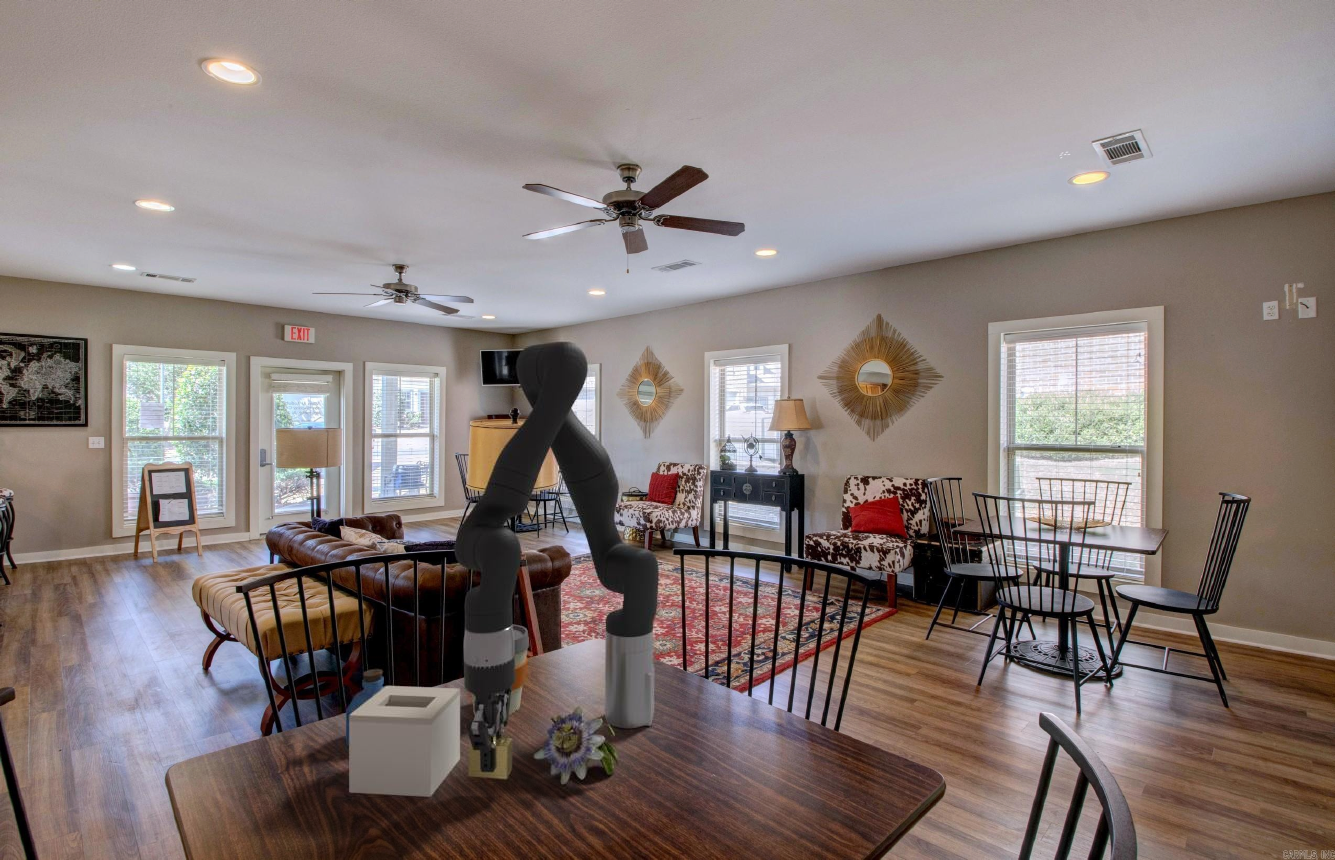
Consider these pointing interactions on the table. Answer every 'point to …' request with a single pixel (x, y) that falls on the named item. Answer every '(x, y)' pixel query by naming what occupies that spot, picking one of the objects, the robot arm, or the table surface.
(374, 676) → the perfume bottle
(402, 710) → the tissue box
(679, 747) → the table surface
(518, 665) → the reusable coffee cup
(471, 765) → the tan wooden block
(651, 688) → the robot arm
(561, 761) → the passion flower
